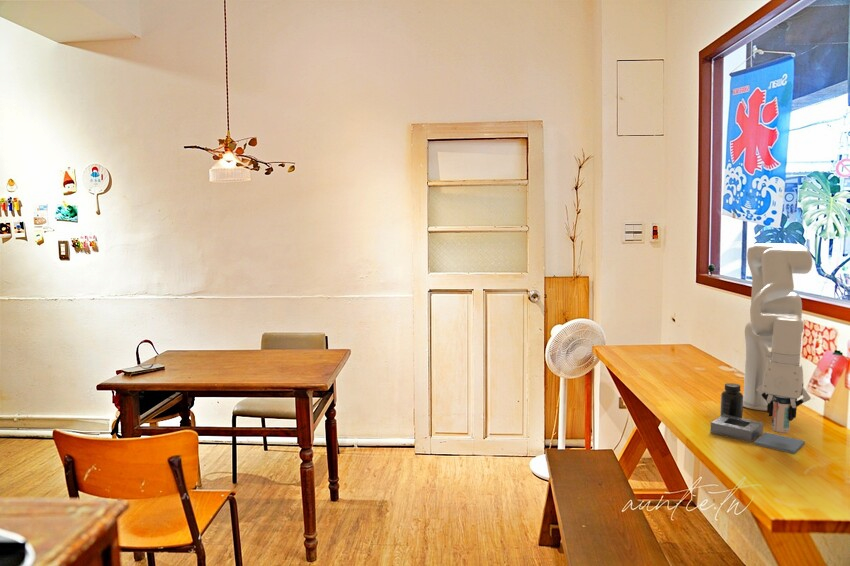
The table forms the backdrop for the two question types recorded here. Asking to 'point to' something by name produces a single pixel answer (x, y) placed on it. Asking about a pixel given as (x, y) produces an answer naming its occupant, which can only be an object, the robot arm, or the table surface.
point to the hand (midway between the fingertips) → (781, 417)
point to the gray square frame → (736, 428)
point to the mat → (779, 442)
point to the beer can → (780, 414)
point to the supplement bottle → (732, 400)
